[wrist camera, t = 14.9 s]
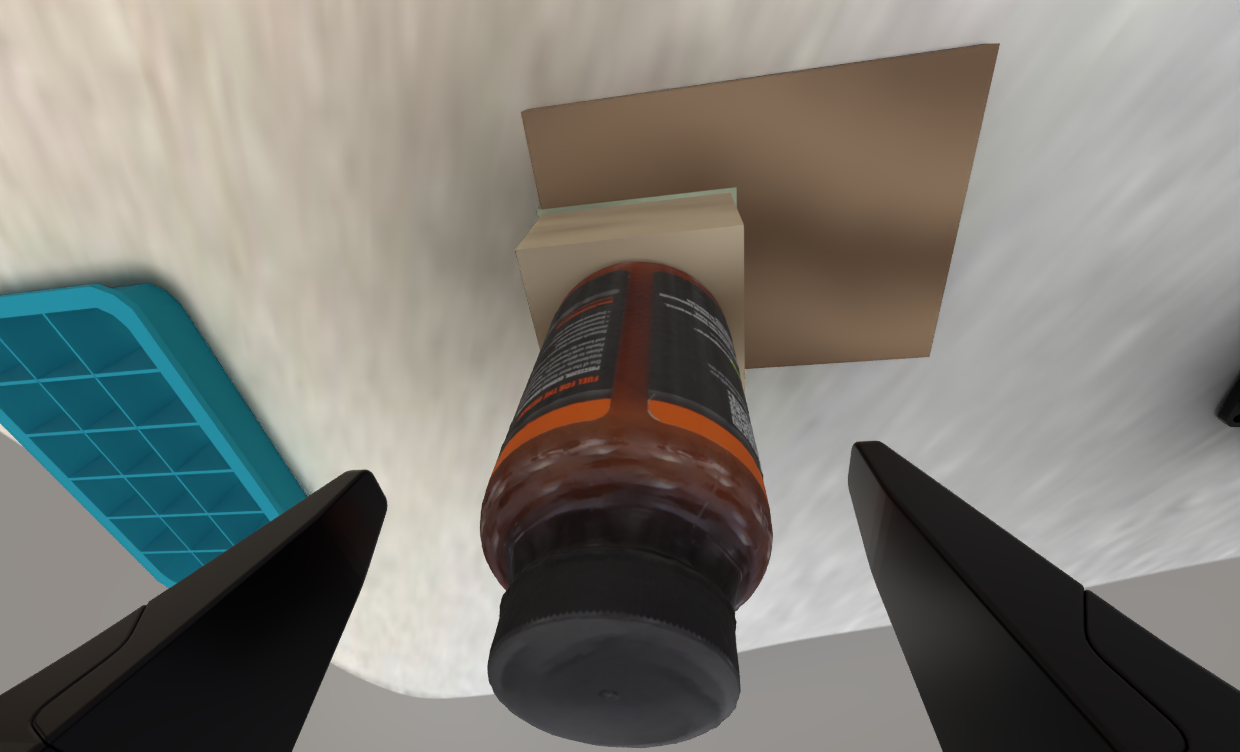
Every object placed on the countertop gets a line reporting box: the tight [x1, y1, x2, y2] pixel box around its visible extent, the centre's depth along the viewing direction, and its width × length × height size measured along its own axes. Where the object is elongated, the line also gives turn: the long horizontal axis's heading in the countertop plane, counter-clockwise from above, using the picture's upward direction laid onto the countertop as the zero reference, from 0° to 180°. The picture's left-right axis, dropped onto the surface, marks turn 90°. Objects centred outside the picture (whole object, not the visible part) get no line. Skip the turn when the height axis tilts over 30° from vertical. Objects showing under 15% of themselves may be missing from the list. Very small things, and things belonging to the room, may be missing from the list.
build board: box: [521, 44, 1000, 369], centre depth 20 cm, size 11×15×1 cm
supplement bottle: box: [480, 262, 773, 748], centre depth 13 cm, size 6×6×11 cm
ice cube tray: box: [0, 283, 307, 588], centre depth 28 cm, size 12×20×3 cm, turn 8°
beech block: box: [515, 192, 745, 394], centre depth 19 cm, size 7×7×4 cm
